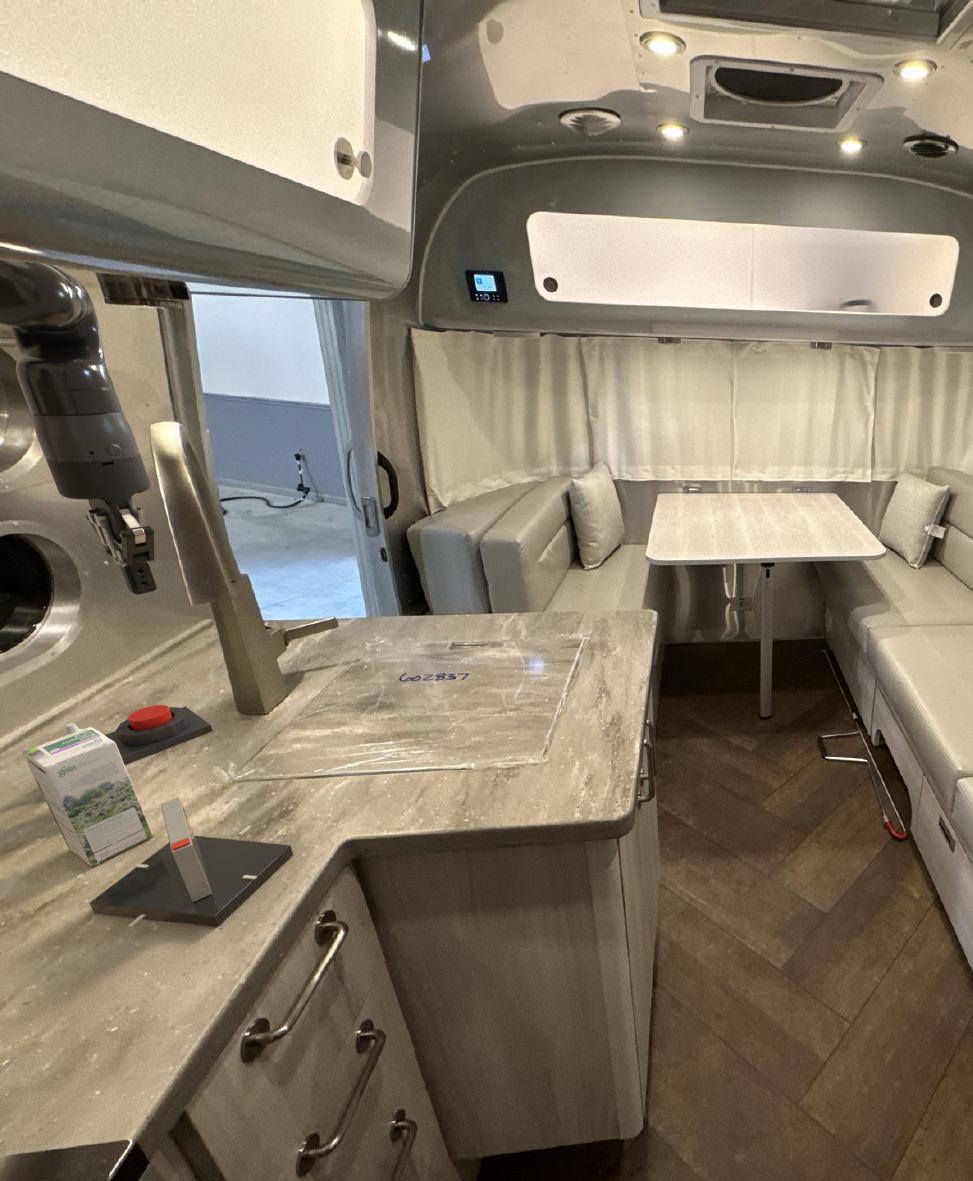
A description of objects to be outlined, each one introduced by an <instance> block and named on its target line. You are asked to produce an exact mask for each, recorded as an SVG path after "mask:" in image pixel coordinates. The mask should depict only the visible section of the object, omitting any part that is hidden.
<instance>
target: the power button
mask: <svg viewBox="0 0 973 1181" xmlns="http://www.w3.org/2000/svg"><path fill="white" fill-rule="evenodd" d="M169 707H170V706H168V705H166V704H154V705H149V706H146V707H142V708H140V709H137V710H135V711H133V712H132V713H130V714H129V715H128V717H127V719H128V721H129V723H130V726H131V728H132V729H133V730H137V731H141V730H146V729H152V728H155V727H158V726H160V725H163V724H165V723H167V722H169V721H170V720H172V714H171V712H170V709H169Z"/></svg>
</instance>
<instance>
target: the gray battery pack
mask: <svg viewBox="0 0 973 1181" xmlns="http://www.w3.org/2000/svg"><path fill="white" fill-rule="evenodd" d="M160 808H161V813H162V817H163V821H164V825H165V830H166V834H167V838H168V843H170V847H171V851H172V854H173V857H174V859H175V861H176V864H177V866H178V869H179V871H180V873H181V876H182V878H183V881H184V883H185V885H186V888H187V890H188V892H189V895H190V897H191V900H192V902H195V901H197V900H199V899H201V898H204V897H206V896H208V895H210V894H212V891H211V888H210V884H209V881H208V877H207V874H206V870H205V867H204V863H203V860H202V856H201V853H200V849H199V846H198V843H197V840H196V838H195V836H196V835H195V833H194V831H193V828H192V825H191V823H190V820H189V818H188V814H187V812H186V810H185V806H184V805H183V802H182V800H181V798H180V797H176V798H173V799H171V800H167V801H164V802H162V803H160Z"/></svg>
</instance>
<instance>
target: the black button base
mask: <svg viewBox="0 0 973 1181" xmlns="http://www.w3.org/2000/svg"><path fill="white" fill-rule="evenodd" d="M168 707H169V709H170V712H171V714H172V720H170V721H169V722H167V723H165V724H163V725H160V726H158V727H155V728H152V729H146V730H141V731H137V730H133V729H132V728H131V726H130V723H129V721H128V718H126V719H125V720H124V721H122V722H120V723H119V724H118V726H117V728H116V729H115V731H111V732H109V733H106V734H104V735H105V736H106V737H107V738H109V739H110V740H112V741H114V742H115V743H116V745H117V748H118V750H119V753H120V755H121V758H122V760H123V763H124V765H125V766H126V765H129V764H132V763H134V762H137V761H139V760H142V759H145V758H147V757H150V756H153V755H155V754H158V753H161V752H162V751H165V750H168V749H171V748H173V747H175V746H179V745H180V744H183V743H186V742H189V741H190V740H193V739H196V738H199V737H201V736H204V735H206V734H209V733H211V732H213V731H214V730H213V727H212V724H210V723H209V722H208V721H206V720H205V719H203V718H202V717H201V716H199V715H198V714H197V713H195V712H194V711H192V710H191V709H190V708H188V707H187V706H182V707H178V706H177V707H175V706H168Z"/></svg>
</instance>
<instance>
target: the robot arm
mask: <svg viewBox="0 0 973 1181" xmlns="http://www.w3.org/2000/svg"><path fill="white" fill-rule="evenodd" d="M0 325H1V326H7V327H10V328H11V331H12V333H13V336H14V339H15V342H16V345H17V349H18V353H19V355H18V359H17V361H16V363H15V371H16V378H17V380H18V383H19V386H20V389H21V391H22V394H23V397H24V399H25V401H26V404H27V407H28V409H29V412H30V413H31V417H32V420H33V426H34V430H35V436H36V438H37V441H38V443H39V446H40V448H41V451H42V453H43V456H44V458H45V461H46V463H47V466H48V468H49V471H50V474H51V475H52V479H53V481H54V484H55V487H56V489H57V491H58V494H59V495H60V496H62V497H63V498H66V499H71V500H78V501H79V500H83V501H85V500H86V501H88V505H89V507H90V509H85V519H86V520H87V521H88V522H89V524H90V525H91V527H92V529H93V531H94V532H95V534H96V535H97V537H98V539H99V541H100V543H101V544H102V546H103V547H104V549H105V552H106V554H107V555H108V556H109V557H113V558H112V559H113V561H114V563H116V565H119V567H120V570H121V573H122V576H123V579H124V581H125V584H126V586H127V589H128V591H129V592H130V593H133V594H134V595H136V596H137V595H138V596H139V595H143V594H148V593H151V592H155V591H156V590H157V589H158V588H157V587H158V586H157V584H156V581H155V579H154V575H153V573H152V571H151V567H150V564H149V563H151V562H152V561H153V562H154V561H155V530H154V528H152V527H151V525H145V523H146V521H147V518H146V516H145V513H144V511H143V509H142V508H141V507H140V506H139V507H137V506H136V504H135V502H134V500H133V498H132V497H133V496H134V495H136V494H142V493H144V492H147V491H148V490H150V488H151V481H150V479H149V476H148V473H147V470H146V467H145V464H144V461H143V458H142V455H141V452H140V450H139V447H138V443H137V441H136V437H135V435H134V432H133V429H132V427H131V425H130V423H129V422H128V419H127V418H126V416H125V413H124V411H123V409H122V405H121V402H120V399H119V396H118V393H117V390H116V388H115V384H114V382H113V379H112V377H111V375H110V373H109V370H108V368H107V363H106V360H105V359H106V358H105V352H104V345H103V340H102V335H101V329H100V324H99V320H98V316H97V312H96V309H95V306H94V303H93V301H92V298H91V296H90V293H89V292H88V291H87V289H86V287H85V286H84V285H83V284H82V282H81V281H80V280H79V279H78V278H77V277H76V276H74V274H72V273H70V272H69V271H68V270H67V269H65V268H63V267H61V266H59V265H57V264H54V265H51V264H43V263H29V262H20V261H6V260H0Z"/></svg>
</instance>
